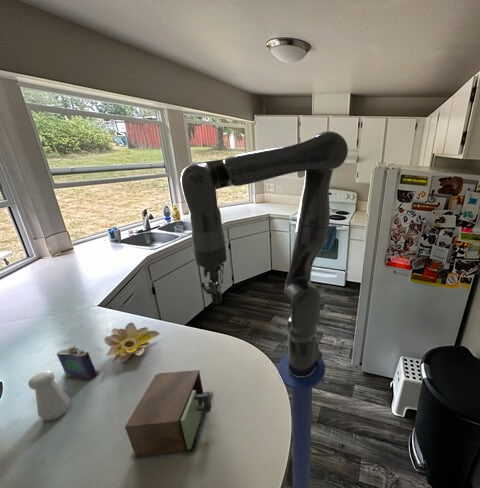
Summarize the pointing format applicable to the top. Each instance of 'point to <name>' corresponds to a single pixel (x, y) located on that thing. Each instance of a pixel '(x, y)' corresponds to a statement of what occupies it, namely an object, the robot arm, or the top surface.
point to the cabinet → (164, 413)
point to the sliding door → (194, 416)
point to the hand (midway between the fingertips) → (217, 302)
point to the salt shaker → (49, 396)
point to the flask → (76, 363)
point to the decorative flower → (128, 341)
